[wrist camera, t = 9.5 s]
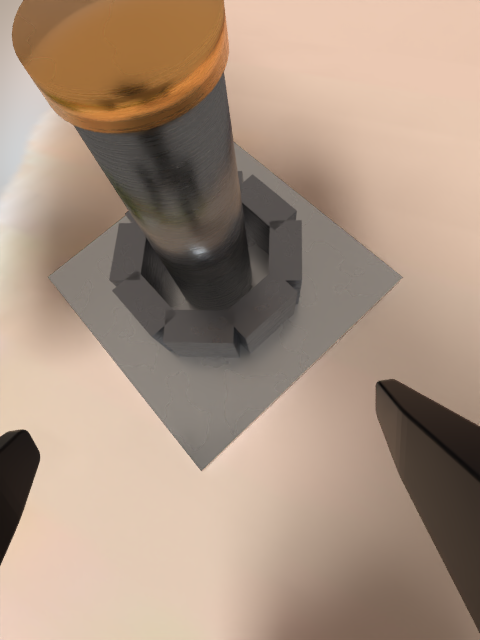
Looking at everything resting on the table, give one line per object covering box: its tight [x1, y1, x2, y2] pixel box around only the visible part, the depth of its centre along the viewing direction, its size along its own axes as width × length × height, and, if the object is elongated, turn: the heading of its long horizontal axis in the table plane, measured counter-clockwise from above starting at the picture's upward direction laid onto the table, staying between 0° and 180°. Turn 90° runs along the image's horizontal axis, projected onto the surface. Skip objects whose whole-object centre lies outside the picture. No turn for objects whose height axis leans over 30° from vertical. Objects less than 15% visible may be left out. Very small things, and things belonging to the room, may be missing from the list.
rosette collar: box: [48, 142, 403, 471], centre depth 18 cm, size 14×14×4 cm
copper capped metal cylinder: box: [12, 0, 252, 310], centre depth 13 cm, size 4×4×13 cm
